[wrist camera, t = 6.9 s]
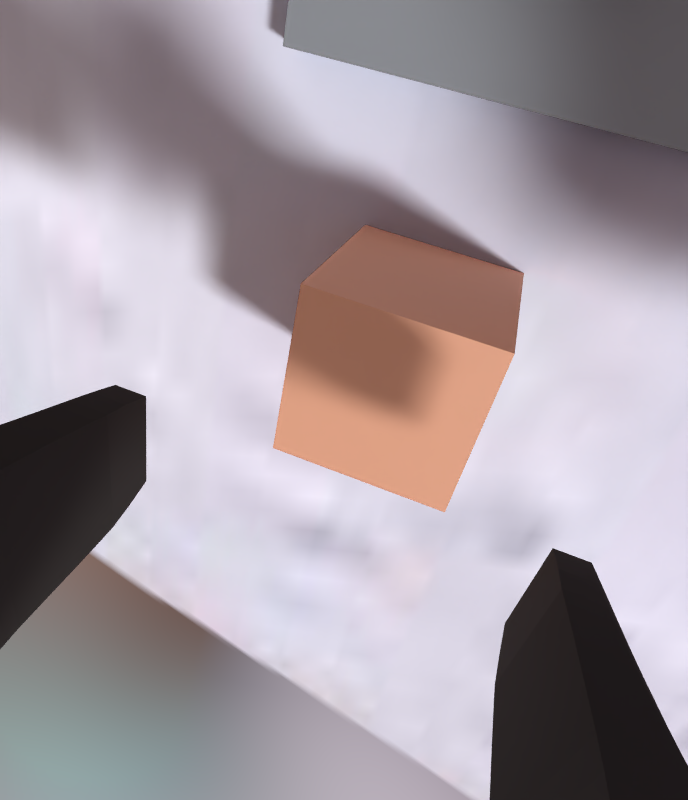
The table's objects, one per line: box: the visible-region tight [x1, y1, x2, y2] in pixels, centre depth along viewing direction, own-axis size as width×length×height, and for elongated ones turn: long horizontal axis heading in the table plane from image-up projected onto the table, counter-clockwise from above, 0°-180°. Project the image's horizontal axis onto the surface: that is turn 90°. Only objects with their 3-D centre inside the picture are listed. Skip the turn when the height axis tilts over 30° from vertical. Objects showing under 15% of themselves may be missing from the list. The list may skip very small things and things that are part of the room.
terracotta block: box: [273, 225, 524, 512], centre depth 14 cm, size 4×4×5 cm
